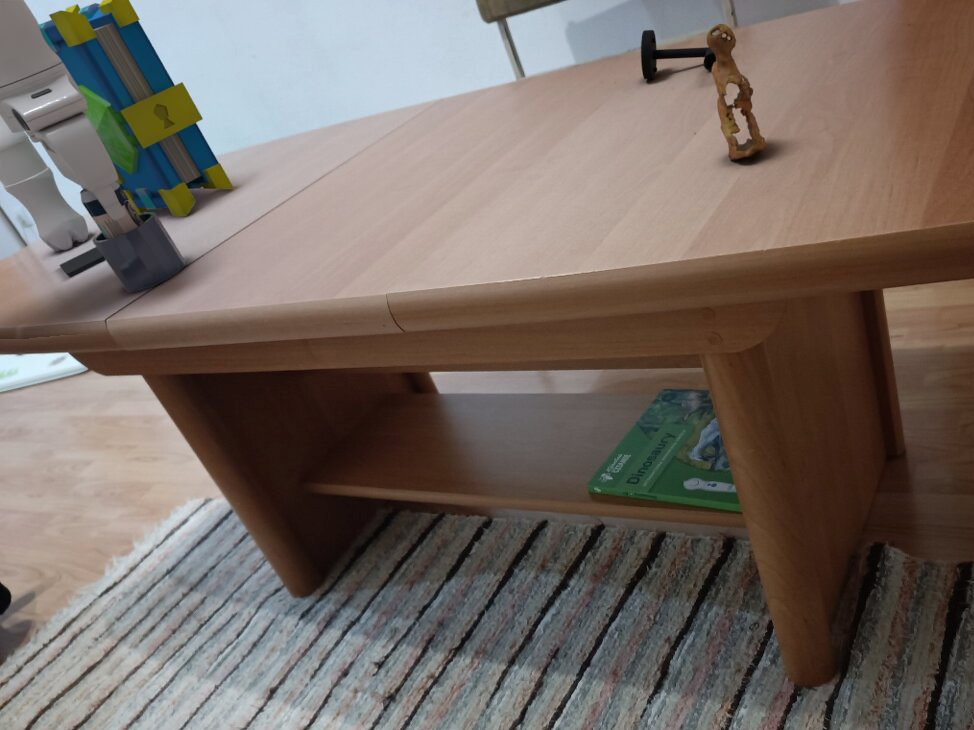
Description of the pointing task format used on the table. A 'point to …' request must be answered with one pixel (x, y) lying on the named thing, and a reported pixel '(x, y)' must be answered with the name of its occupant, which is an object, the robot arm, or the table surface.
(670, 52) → the light fixture
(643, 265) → the table surface
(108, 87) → the decorative book
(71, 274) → the mat
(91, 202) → the supplement bottle
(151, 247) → the cup
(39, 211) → the water bottle
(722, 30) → the figurine
